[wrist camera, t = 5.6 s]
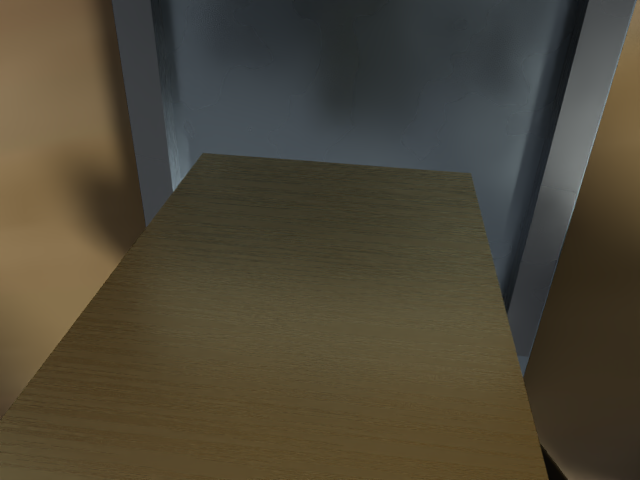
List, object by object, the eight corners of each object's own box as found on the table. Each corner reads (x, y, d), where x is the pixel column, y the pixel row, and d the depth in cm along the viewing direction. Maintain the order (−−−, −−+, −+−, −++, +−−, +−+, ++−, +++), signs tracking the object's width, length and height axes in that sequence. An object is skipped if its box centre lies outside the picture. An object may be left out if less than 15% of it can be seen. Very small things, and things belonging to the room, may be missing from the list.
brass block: (427, 411, 11) (451, 866, 6) (222, 389, 11) (75, 799, 6) (470, 173, 8) (582, 618, 3) (203, 152, 9) (-79, 525, 4)
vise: (502, 394, 23) (535, 549, 17) (183, 360, 24) (120, 497, 18) (729, -414, 11) (1042, -698, 6) (82, -409, 12) (-167, -646, 7)
